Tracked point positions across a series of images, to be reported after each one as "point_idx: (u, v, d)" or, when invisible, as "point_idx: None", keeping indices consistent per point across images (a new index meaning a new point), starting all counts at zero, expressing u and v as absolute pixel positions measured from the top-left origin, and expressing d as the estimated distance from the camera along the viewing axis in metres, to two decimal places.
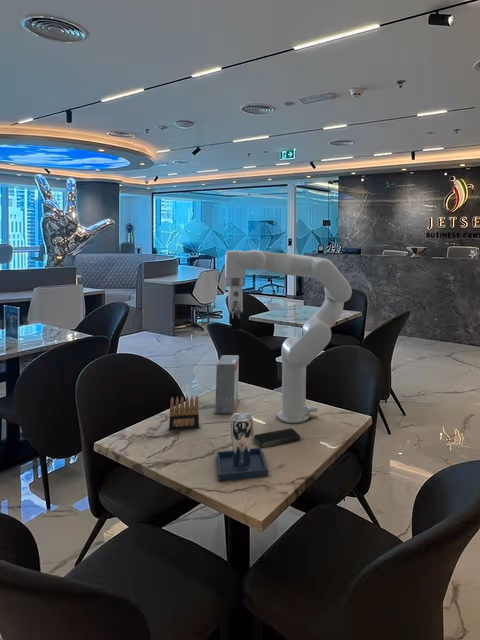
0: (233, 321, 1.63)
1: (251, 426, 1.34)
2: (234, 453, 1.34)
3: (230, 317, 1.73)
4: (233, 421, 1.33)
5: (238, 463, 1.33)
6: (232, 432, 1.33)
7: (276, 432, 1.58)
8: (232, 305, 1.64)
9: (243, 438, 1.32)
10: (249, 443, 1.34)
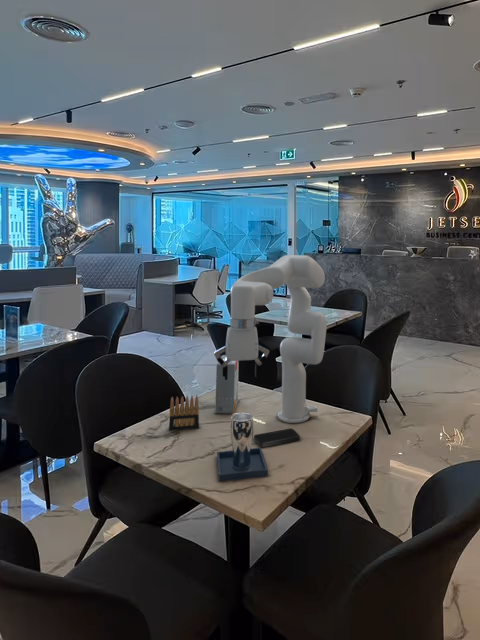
0: (259, 368, 1.39)
1: (251, 426, 1.34)
2: (234, 453, 1.34)
3: None
4: (233, 421, 1.33)
5: (238, 463, 1.33)
6: (232, 432, 1.33)
7: (276, 432, 1.58)
8: (258, 349, 1.38)
9: (243, 438, 1.32)
10: (249, 443, 1.34)
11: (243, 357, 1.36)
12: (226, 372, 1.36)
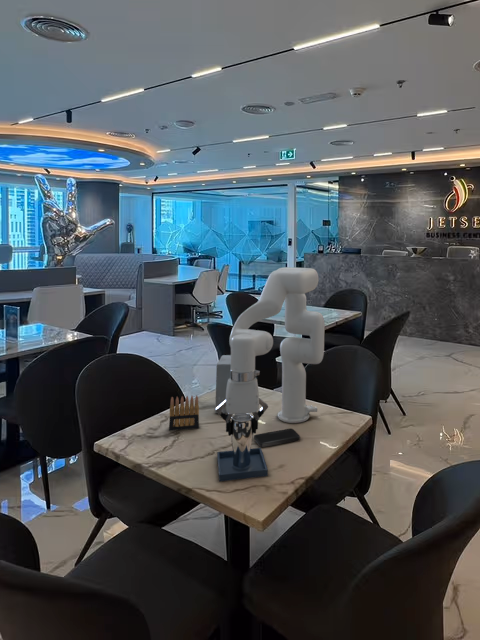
0: (256, 422, 1.36)
1: (251, 426, 1.34)
2: (234, 453, 1.34)
3: (230, 426, 1.34)
4: (233, 421, 1.33)
5: (238, 463, 1.33)
6: (232, 432, 1.33)
7: (276, 432, 1.58)
8: (258, 404, 1.36)
9: (243, 438, 1.32)
10: (249, 443, 1.34)
11: (243, 410, 1.34)
12: (230, 428, 1.33)
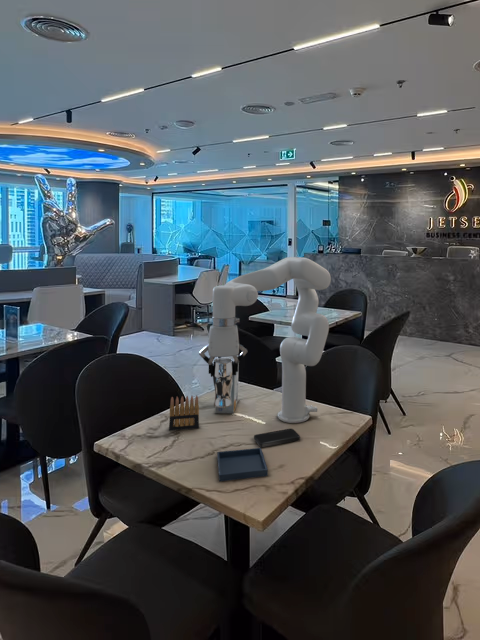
0: (236, 365, 1.48)
1: (231, 368, 1.47)
2: (216, 392, 1.46)
3: (212, 368, 1.46)
4: (215, 363, 1.46)
5: (219, 401, 1.45)
6: (214, 373, 1.46)
7: (276, 432, 1.58)
8: (238, 348, 1.48)
9: (224, 378, 1.45)
10: (230, 383, 1.46)
11: (224, 353, 1.46)
12: (212, 369, 1.45)
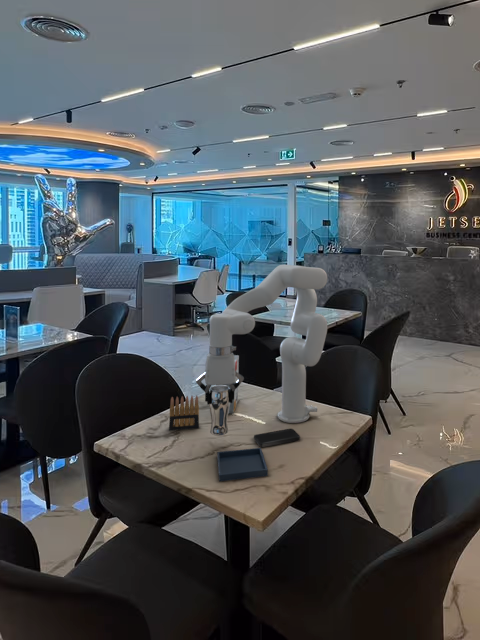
0: (233, 393, 1.50)
1: (228, 396, 1.48)
2: (212, 420, 1.48)
3: None
4: (211, 391, 1.48)
5: (216, 429, 1.47)
6: (210, 401, 1.47)
7: (276, 432, 1.58)
8: None
9: (220, 406, 1.47)
10: (226, 411, 1.48)
11: (220, 382, 1.48)
12: (208, 397, 1.47)
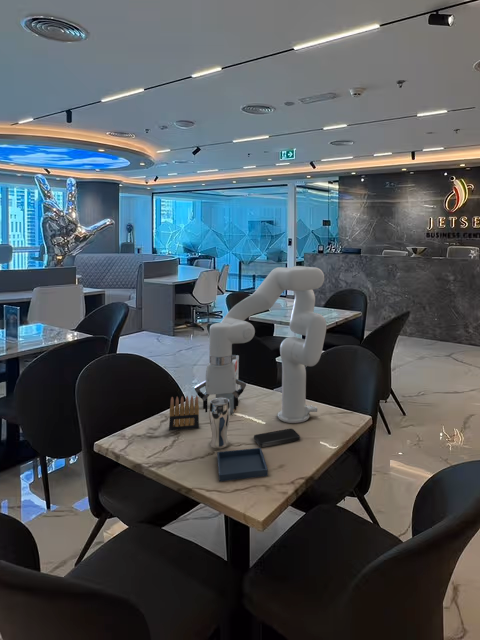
0: (236, 400, 1.51)
1: (228, 409, 1.48)
2: (212, 433, 1.48)
3: None
4: (211, 405, 1.48)
5: (216, 442, 1.47)
6: (210, 414, 1.48)
7: (276, 432, 1.58)
8: (235, 383, 1.50)
9: (220, 420, 1.47)
10: (226, 424, 1.48)
11: (221, 391, 1.48)
12: (206, 405, 1.47)
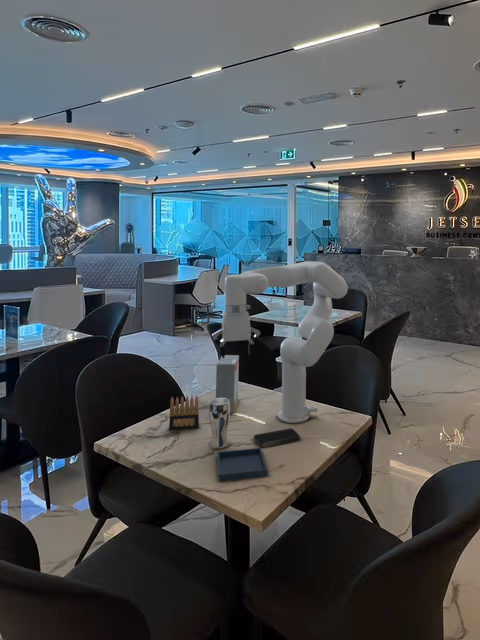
0: (251, 346, 1.59)
1: (228, 409, 1.48)
2: (212, 433, 1.48)
3: (224, 350, 1.56)
4: (211, 405, 1.48)
5: (216, 442, 1.47)
6: (210, 414, 1.48)
7: (276, 432, 1.58)
8: (250, 331, 1.59)
9: (220, 420, 1.47)
10: (226, 424, 1.48)
11: (237, 338, 1.57)
12: (223, 351, 1.56)
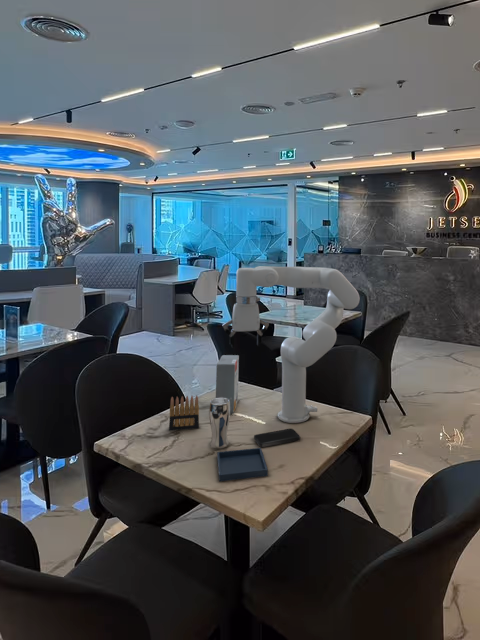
0: (260, 337, 1.65)
1: (228, 409, 1.48)
2: (212, 433, 1.48)
3: (233, 339, 1.63)
4: (211, 405, 1.48)
5: (216, 442, 1.47)
6: (210, 414, 1.48)
7: (276, 432, 1.58)
8: (259, 322, 1.65)
9: (220, 420, 1.47)
10: (226, 424, 1.48)
11: (246, 328, 1.63)
12: (233, 341, 1.62)
